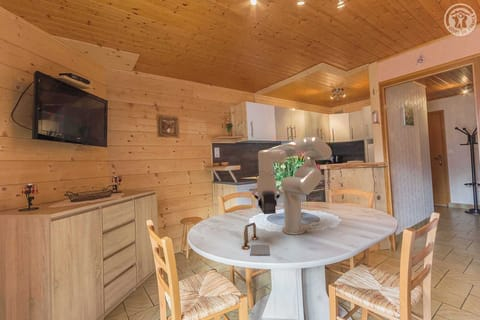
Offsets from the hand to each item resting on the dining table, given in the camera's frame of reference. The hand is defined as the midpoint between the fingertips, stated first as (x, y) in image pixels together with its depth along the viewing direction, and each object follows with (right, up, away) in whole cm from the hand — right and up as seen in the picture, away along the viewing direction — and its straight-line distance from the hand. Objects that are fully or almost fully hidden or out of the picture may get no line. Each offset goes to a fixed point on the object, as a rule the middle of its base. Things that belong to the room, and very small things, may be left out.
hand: (267, 207), depth 120 cm
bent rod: (-9, -18, -2) cm, 20 cm away
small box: (0, -3, 0) cm, 3 cm away
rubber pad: (-5, -18, -12) cm, 22 cm away
